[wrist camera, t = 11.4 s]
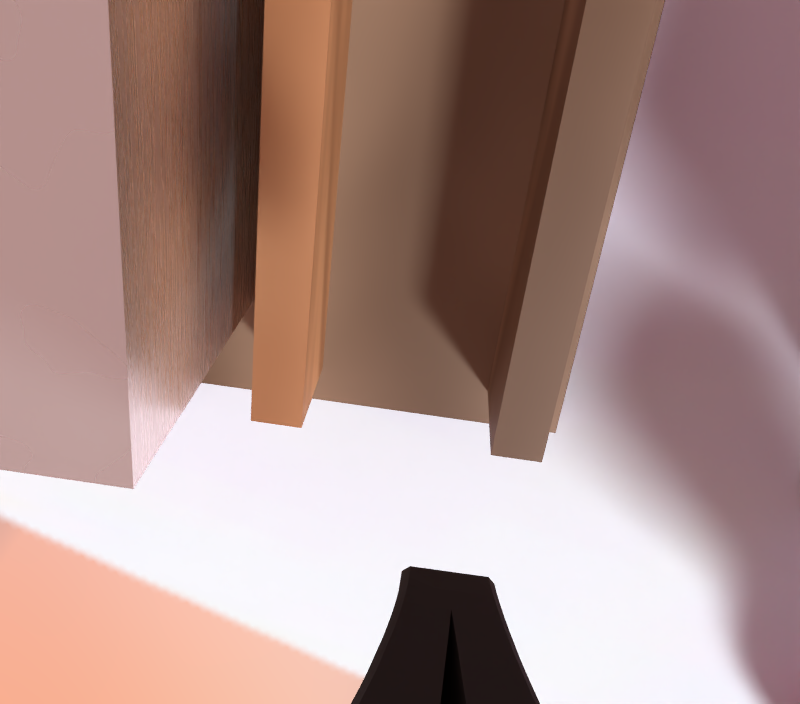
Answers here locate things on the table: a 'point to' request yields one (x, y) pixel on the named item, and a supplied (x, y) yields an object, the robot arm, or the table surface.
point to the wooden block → (120, 221)
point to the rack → (434, 204)
